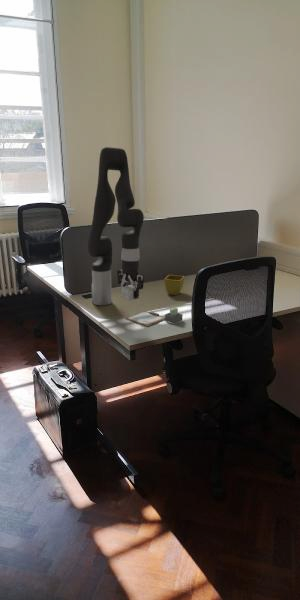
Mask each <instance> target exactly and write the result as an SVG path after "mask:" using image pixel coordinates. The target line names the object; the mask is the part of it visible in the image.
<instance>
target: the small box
mask: <svg viewBox="0 0 300 600" xmlns="http://www.w3.org/2000/svg"><path fill="white" fill-rule="evenodd" d="M120 287H121V293H120V294H121V296H120V297H121V298H122V299H125V300H126V301H129V302H130V301H135V300H138V299H140V296H139V297H138V298H136V299H134V288H133V286H132V285H131V284H129V285H126V286H120Z"/></svg>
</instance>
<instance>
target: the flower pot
mask: <svg viewBox="0 0 300 600" xmlns="http://www.w3.org/2000/svg"><path fill="white" fill-rule="evenodd" d="M163 280H164V288H165V290H166V292H167V294H168V295H172V296H173V295H175V296H178V295H179V294H180V292H181V291H182V289H183V286H184V283H185V282H184V280H185V276H184V275H176V274H175V275H174V274H168V275H167V276H166V277H165V278H164V279H163Z"/></svg>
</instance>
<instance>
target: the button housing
mask: <svg viewBox="0 0 300 600" xmlns="http://www.w3.org/2000/svg"><path fill="white" fill-rule="evenodd" d="M164 317H165V320H164V322H167V323H169V324H170V323H171V324H177V323H179V322H182V321H183V313H180V312H178V316H175V317H173V316H170V312H168V313H165V314H164Z"/></svg>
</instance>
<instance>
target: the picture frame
mask: <svg viewBox="0 0 300 600" xmlns="http://www.w3.org/2000/svg"><path fill="white" fill-rule="evenodd" d="M124 320H127V321H129V322H132V323H135V324H139V325H141V326H143V327H147V328H149V327H151V326H153V325H156V324H158V323H160V322H163V321H165V316H162V315H160V313H158V312H156V311H155V312H154V311H147V310H143V311H139V312H137V313H134V314H131V315H130V316H126V317H124Z"/></svg>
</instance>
